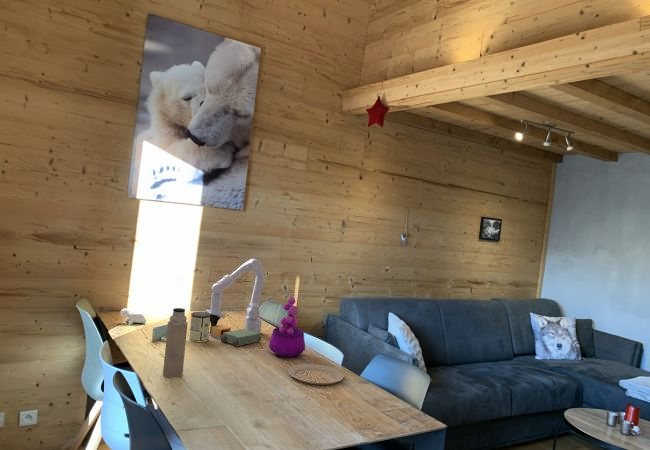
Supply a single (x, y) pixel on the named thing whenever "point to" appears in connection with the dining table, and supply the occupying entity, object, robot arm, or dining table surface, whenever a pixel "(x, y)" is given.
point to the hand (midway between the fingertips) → (213, 327)
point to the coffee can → (199, 326)
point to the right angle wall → (160, 332)
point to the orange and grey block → (219, 330)
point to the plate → (301, 367)
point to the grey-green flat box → (239, 337)
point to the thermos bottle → (175, 344)
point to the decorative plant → (288, 334)
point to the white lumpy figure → (133, 316)
